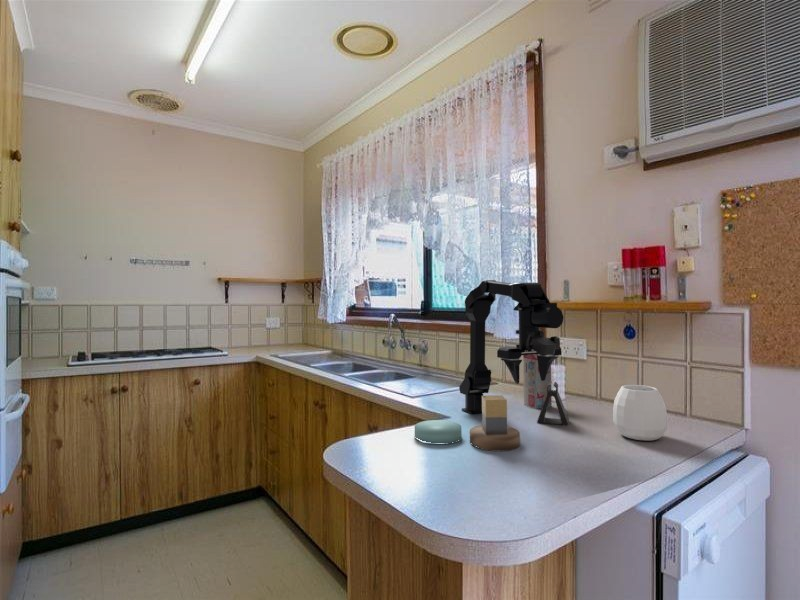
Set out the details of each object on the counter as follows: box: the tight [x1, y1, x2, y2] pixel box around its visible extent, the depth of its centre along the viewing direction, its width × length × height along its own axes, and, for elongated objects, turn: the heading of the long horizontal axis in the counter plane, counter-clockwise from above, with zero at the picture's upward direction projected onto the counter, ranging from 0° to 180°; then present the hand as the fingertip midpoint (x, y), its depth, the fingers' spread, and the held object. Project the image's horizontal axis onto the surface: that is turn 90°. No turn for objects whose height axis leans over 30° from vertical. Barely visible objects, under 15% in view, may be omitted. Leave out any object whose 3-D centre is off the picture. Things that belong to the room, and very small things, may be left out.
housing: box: [481, 394, 508, 435], centre depth 120 cm, size 6×6×9 cm
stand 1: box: [414, 419, 463, 444], centre depth 125 cm, size 13×13×3 cm
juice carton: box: [522, 354, 553, 410], centre depth 159 cm, size 7×7×22 cm
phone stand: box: [536, 380, 570, 427], centre depth 139 cm, size 9×6×12 cm, turn 68°
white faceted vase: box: [612, 384, 668, 441], centre depth 123 cm, size 13×13×14 cm
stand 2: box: [469, 424, 521, 452], centre depth 120 cm, size 13×13×3 cm
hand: (530, 382), depth 127 cm, fingers open, 9 cm apart
